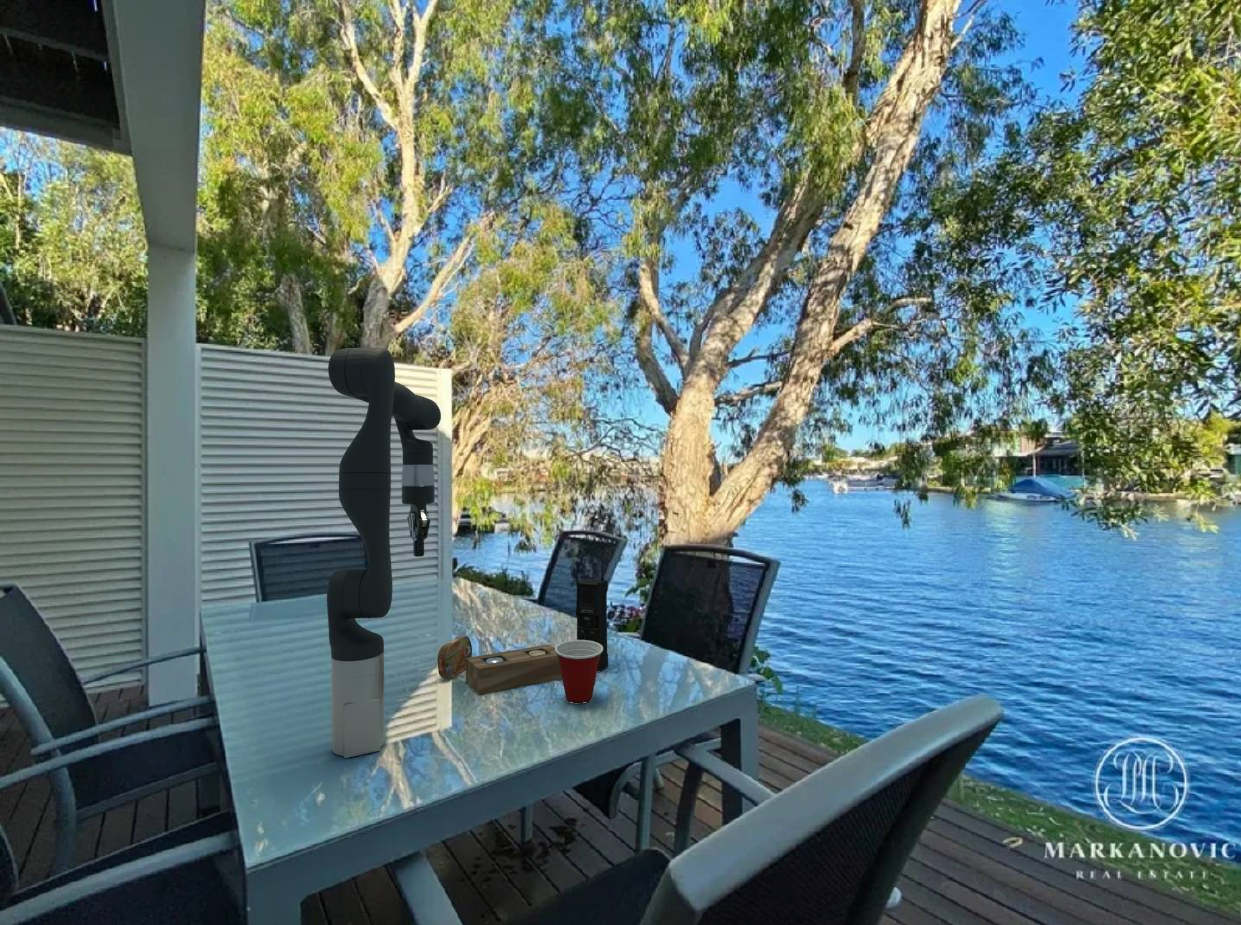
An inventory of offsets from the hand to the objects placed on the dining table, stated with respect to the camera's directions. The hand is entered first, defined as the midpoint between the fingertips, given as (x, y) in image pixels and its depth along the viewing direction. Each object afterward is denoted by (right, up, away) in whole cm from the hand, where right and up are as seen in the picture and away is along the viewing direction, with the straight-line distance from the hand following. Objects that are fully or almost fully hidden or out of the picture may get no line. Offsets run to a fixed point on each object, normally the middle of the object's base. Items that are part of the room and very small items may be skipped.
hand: (418, 556), depth 155 cm
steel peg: (+18, -31, 0) cm, 36 cm away
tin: (+6, -31, +9) cm, 33 cm away
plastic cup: (+39, -31, -11) cm, 51 cm away
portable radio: (+41, -31, +12) cm, 52 cm away
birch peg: (+28, -31, +6) cm, 42 cm away
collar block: (+23, -31, +3) cm, 39 cm away
